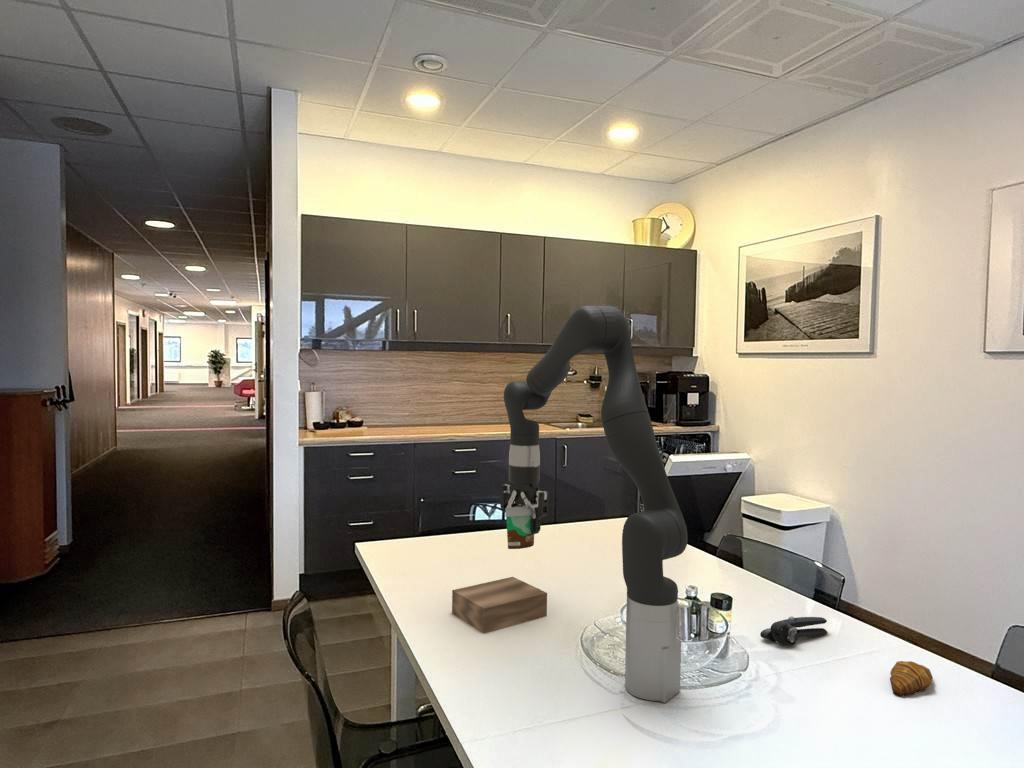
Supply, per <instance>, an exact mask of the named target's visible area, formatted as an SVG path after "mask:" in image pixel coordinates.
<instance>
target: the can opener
mask: <svg viewBox="0 0 1024 768" xmlns="http://www.w3.org/2000/svg"><path fill="white" fill-rule="evenodd" d="M827 622H828V620H827V619H826V618H824V617H820V616H799V617H795V616H788V618H787V619H782V620H778V621H774V622H773V623H772V624H771V626H770V628H769V627H768V628H765V629H762V630H761V632H760V635H759V636H760V638H762V639H764V640H766V641H769V642H770V643H771V642H772V643H778V645H780V646H781V647H794V646H795V645H796V643H797V640H798V639H800V638H818V637H822V636H825V635H826V634H827V633H828V631H827V629H825V627H824V628H823V627H812V628H803V627H810V626H817V625H824V624H826V623H827Z"/></svg>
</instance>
